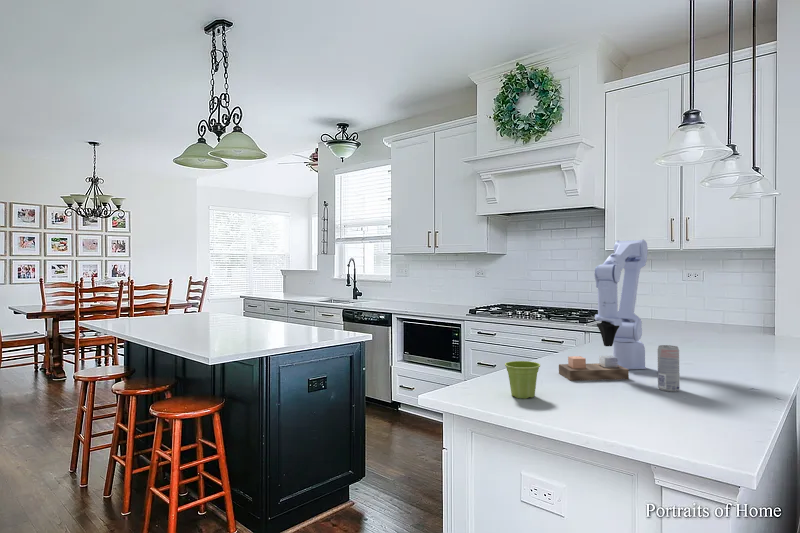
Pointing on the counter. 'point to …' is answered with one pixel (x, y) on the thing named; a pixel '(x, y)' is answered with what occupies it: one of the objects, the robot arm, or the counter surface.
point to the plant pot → (522, 378)
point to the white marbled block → (608, 361)
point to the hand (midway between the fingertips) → (608, 346)
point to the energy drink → (668, 368)
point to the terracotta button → (576, 362)
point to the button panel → (593, 372)
